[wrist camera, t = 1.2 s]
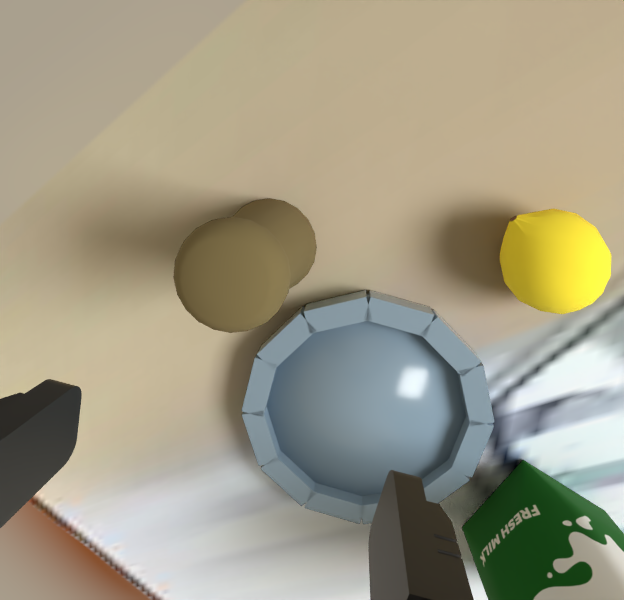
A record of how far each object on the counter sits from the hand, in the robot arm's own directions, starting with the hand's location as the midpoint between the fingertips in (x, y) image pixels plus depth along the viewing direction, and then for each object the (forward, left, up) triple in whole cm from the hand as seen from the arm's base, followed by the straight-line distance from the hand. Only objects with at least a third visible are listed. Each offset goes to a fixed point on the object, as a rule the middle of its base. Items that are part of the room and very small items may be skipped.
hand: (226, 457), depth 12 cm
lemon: (-6, +13, -20) cm, 24 cm away
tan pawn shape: (-2, -3, -20) cm, 20 cm away
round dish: (+7, +6, -19) cm, 21 cm away
